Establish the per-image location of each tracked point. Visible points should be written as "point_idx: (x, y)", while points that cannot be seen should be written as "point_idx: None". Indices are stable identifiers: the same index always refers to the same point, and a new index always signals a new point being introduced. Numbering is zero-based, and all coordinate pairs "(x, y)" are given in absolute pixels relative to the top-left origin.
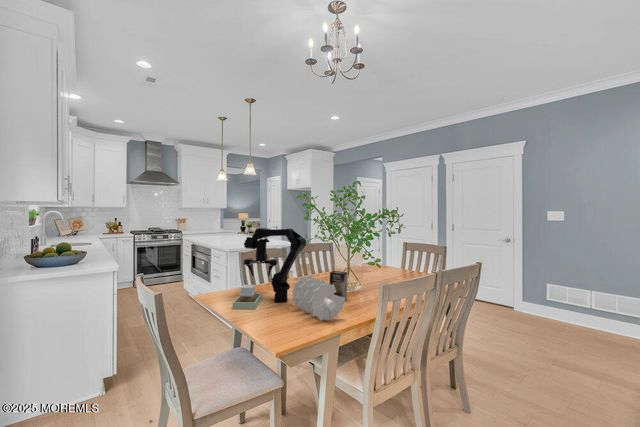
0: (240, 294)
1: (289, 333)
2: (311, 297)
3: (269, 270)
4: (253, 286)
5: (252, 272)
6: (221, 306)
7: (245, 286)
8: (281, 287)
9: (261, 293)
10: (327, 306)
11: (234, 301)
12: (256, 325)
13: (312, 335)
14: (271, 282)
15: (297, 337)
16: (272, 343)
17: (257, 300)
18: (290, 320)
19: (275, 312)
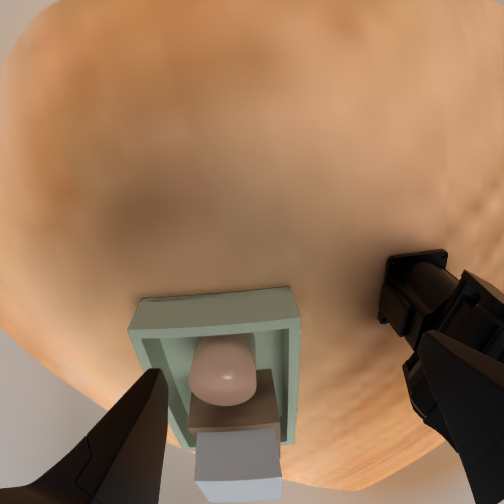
0: (140, 360)
1: (388, 462)
2: None
3: (469, 444)
4: (281, 490)
5: (162, 463)
6: (109, 390)
7: (228, 495)
8: (464, 279)
9: (295, 319)
10: None
11: (183, 443)
12: (314, 468)
13: (426, 450)
14: (414, 405)
15: (398, 464)
16: (352, 486)
17: (295, 419)
18: (406, 427)
19: (372, 405)
